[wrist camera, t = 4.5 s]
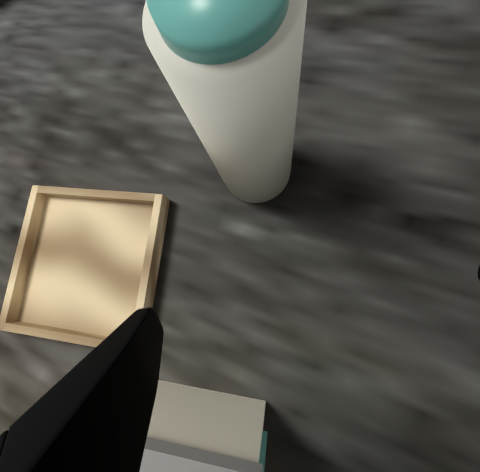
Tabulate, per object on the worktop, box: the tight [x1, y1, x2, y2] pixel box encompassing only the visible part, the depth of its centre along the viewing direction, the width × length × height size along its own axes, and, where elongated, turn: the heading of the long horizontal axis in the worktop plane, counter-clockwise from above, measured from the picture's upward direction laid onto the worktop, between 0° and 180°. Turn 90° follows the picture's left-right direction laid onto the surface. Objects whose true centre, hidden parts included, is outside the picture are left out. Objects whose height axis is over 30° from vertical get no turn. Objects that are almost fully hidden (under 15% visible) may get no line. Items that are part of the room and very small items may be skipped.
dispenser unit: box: [139, 380, 267, 472], centre depth 15 cm, size 6×10×8 cm
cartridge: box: [142, 0, 307, 203], centre depth 15 cm, size 6×6×14 cm
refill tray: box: [0, 185, 170, 347], centre depth 21 cm, size 12×12×2 cm
